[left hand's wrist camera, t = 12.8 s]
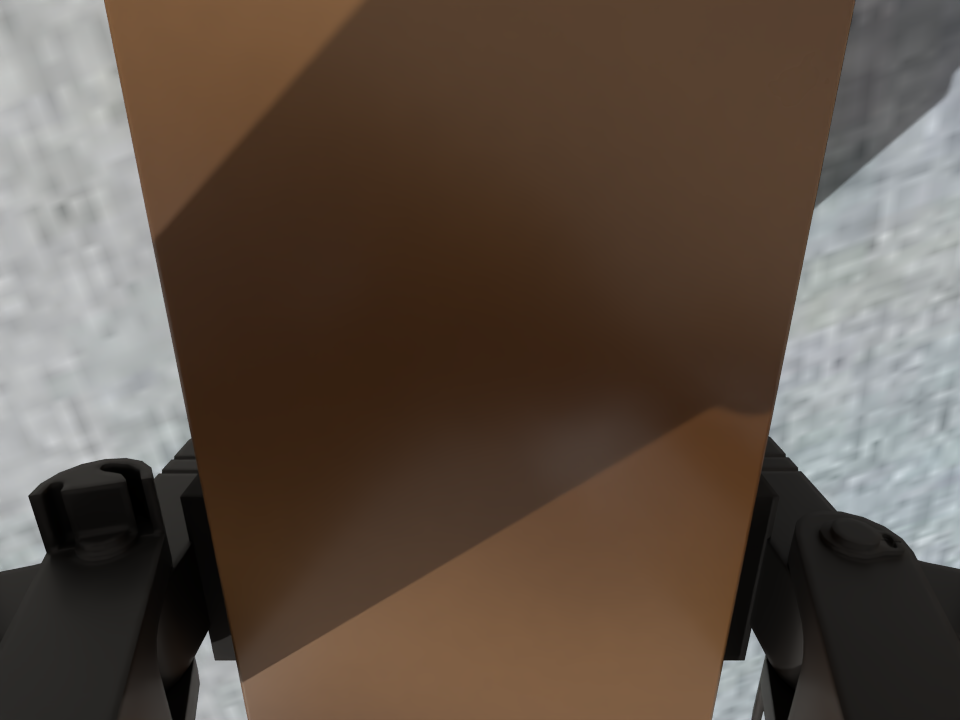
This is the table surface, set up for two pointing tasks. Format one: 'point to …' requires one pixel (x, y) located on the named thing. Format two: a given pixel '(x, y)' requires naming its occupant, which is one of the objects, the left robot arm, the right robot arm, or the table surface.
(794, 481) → the left robot arm
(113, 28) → the bar
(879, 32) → the table surface
